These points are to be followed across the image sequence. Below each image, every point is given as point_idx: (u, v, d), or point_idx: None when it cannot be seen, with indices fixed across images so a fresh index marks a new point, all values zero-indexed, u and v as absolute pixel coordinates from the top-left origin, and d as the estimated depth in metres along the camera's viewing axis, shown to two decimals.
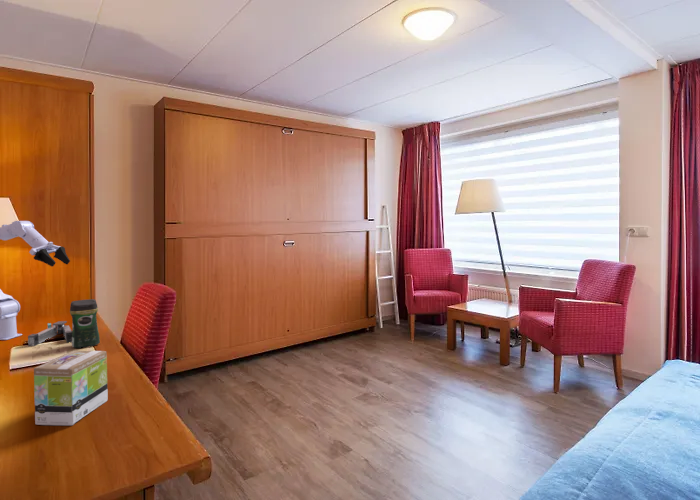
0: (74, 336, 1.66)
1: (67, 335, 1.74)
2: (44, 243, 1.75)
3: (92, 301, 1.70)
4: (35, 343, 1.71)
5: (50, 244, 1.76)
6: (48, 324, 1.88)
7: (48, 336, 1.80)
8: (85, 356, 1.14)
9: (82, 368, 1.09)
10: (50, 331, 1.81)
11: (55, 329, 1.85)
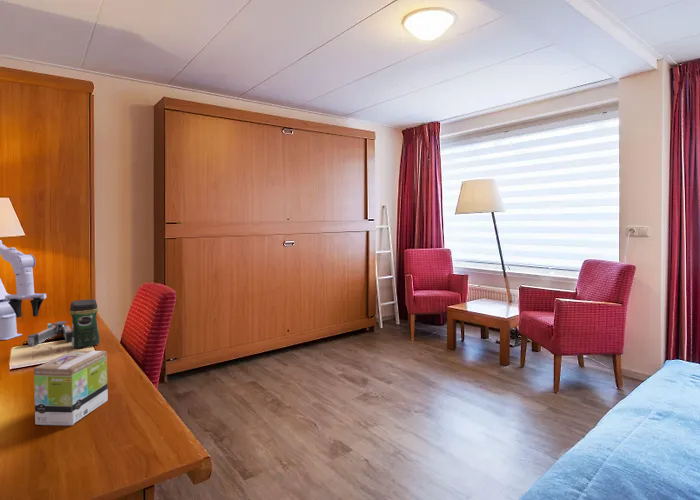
0: (74, 336, 1.66)
1: (67, 335, 1.74)
2: (18, 293, 1.73)
3: (92, 301, 1.70)
4: (35, 343, 1.71)
5: (20, 297, 1.72)
6: (48, 324, 1.88)
7: (48, 336, 1.80)
8: (85, 355, 1.14)
9: (82, 368, 1.09)
10: (50, 331, 1.81)
11: (55, 329, 1.85)
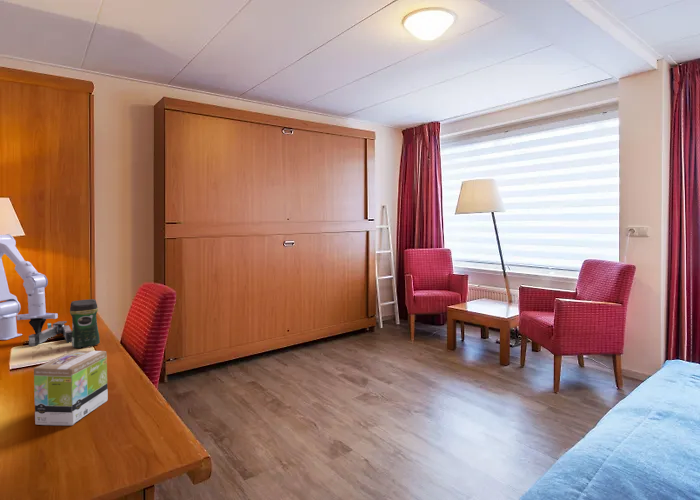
0: (74, 336, 1.66)
1: (67, 335, 1.74)
2: (30, 313, 1.74)
3: (92, 301, 1.70)
4: (36, 343, 1.71)
5: (32, 317, 1.74)
6: (48, 324, 1.88)
7: (48, 336, 1.80)
8: (85, 356, 1.14)
9: (82, 368, 1.09)
10: (50, 331, 1.81)
11: (55, 329, 1.85)
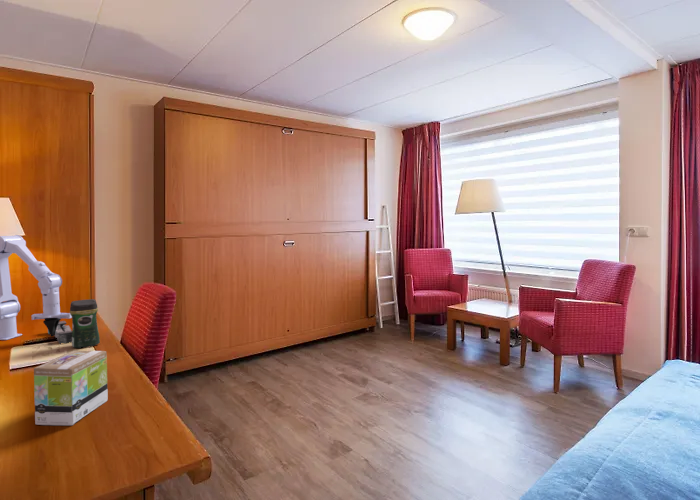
0: (74, 336, 1.66)
1: (67, 335, 1.74)
2: (44, 313, 1.75)
3: (92, 301, 1.70)
4: (65, 340, 1.75)
5: (47, 317, 1.74)
6: None
7: None
8: (85, 355, 1.14)
9: (82, 368, 1.09)
10: None
11: None
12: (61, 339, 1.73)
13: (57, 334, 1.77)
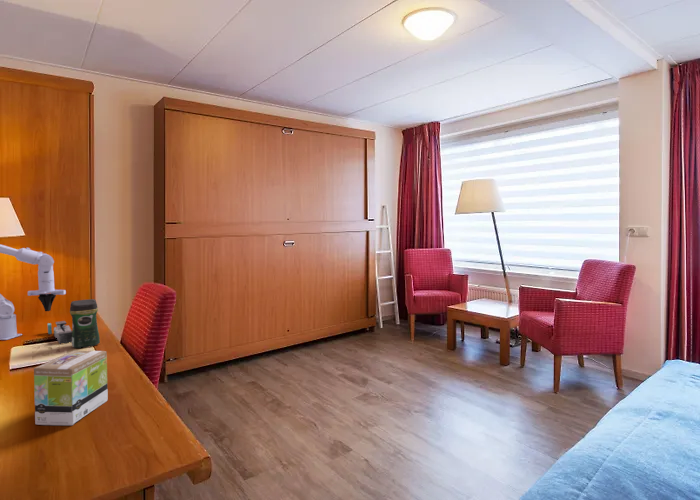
0: (74, 336, 1.66)
1: (67, 335, 1.74)
2: (40, 289, 1.88)
3: (92, 301, 1.70)
4: (65, 340, 1.75)
5: None
6: (48, 324, 1.88)
7: None
8: (85, 355, 1.14)
9: (82, 368, 1.09)
10: None
11: None
12: (61, 339, 1.73)
13: (57, 334, 1.77)
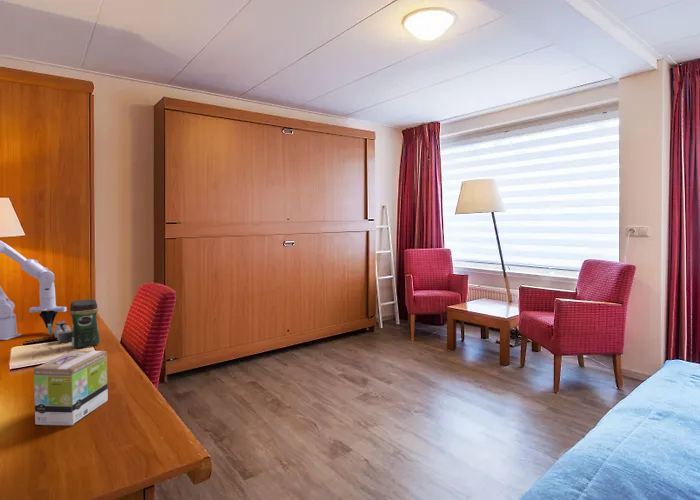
0: (74, 336, 1.66)
1: (67, 335, 1.74)
2: (41, 306, 1.87)
3: (92, 301, 1.70)
4: (65, 340, 1.75)
5: (43, 310, 1.87)
6: (48, 324, 1.87)
7: None
8: (85, 355, 1.14)
9: (82, 368, 1.09)
10: None
11: None
12: (61, 339, 1.73)
13: (57, 334, 1.77)
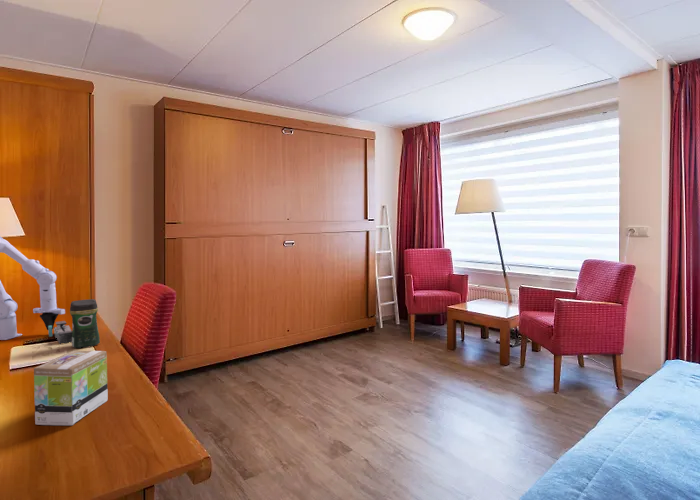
0: (74, 336, 1.66)
1: (67, 335, 1.74)
2: (41, 308, 1.84)
3: (92, 301, 1.70)
4: (65, 340, 1.75)
5: None
6: (49, 326, 1.84)
7: None
8: (85, 355, 1.14)
9: (82, 368, 1.09)
10: None
11: None
12: (61, 339, 1.73)
13: (57, 334, 1.77)
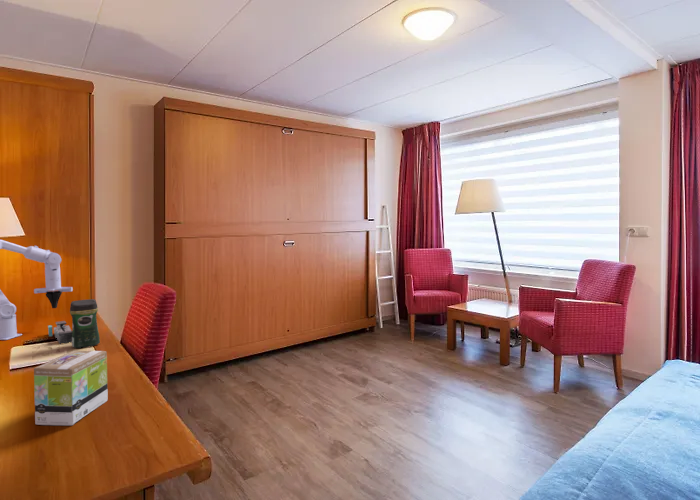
0: (74, 336, 1.66)
1: (67, 335, 1.74)
2: (48, 287, 1.91)
3: (92, 301, 1.70)
4: (65, 340, 1.75)
5: (51, 290, 1.91)
6: (49, 326, 1.84)
7: None
8: (85, 355, 1.14)
9: (82, 368, 1.09)
10: None
11: None
12: (61, 339, 1.73)
13: (57, 334, 1.77)
